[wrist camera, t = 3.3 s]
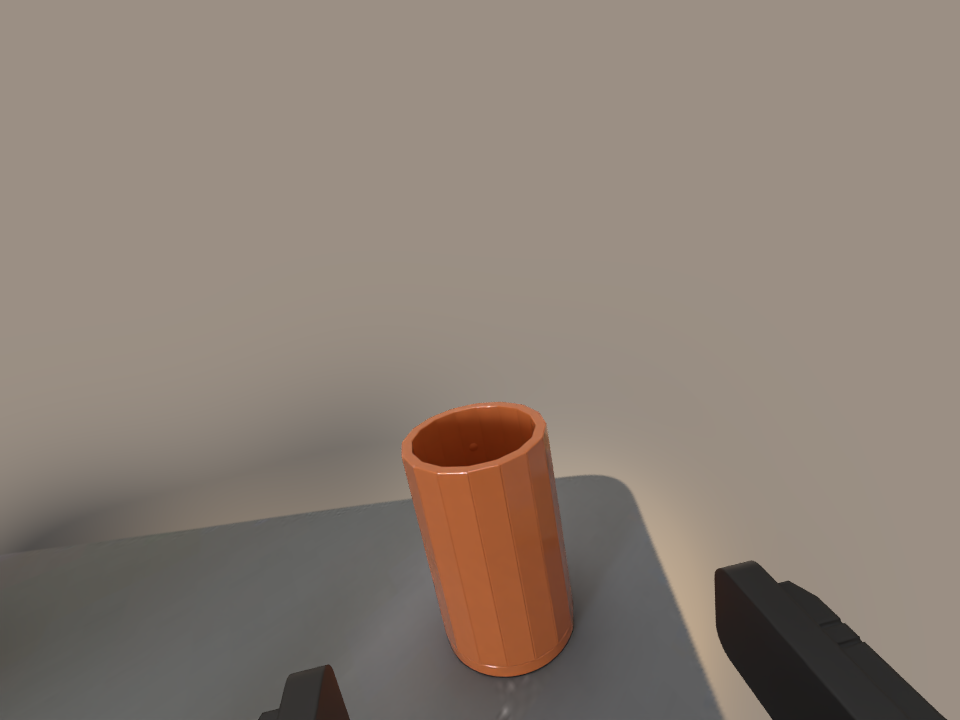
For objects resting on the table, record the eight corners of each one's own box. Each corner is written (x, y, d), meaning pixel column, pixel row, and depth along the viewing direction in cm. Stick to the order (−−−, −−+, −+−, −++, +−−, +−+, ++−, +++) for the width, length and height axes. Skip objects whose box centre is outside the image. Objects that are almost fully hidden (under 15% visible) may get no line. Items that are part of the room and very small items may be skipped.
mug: (592, 656, 22) (564, 450, 19) (454, 693, 21) (400, 487, 18) (536, 521, 31) (510, 367, 28) (439, 545, 30) (401, 391, 27)
